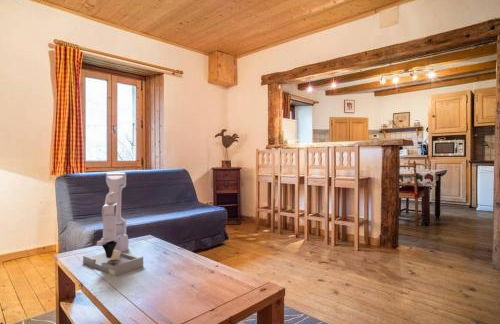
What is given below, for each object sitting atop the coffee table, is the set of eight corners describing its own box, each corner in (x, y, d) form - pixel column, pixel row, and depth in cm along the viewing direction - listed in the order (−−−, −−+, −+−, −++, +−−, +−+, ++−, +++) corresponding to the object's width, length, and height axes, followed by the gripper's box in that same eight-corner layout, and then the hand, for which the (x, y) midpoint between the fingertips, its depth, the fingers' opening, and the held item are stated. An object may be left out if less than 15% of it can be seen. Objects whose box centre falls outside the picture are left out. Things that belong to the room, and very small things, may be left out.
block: (113, 258, 143) (115, 249, 144) (118, 259, 142) (121, 251, 143) (106, 258, 140) (108, 249, 141) (112, 259, 138) (114, 251, 139)
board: (110, 255, 154) (110, 246, 154) (143, 266, 138) (143, 256, 138) (83, 263, 142) (83, 253, 142) (115, 276, 127) (115, 265, 127)
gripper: (112, 226, 148) (112, 252, 147) (91, 231, 133) (90, 261, 133) (124, 226, 146) (124, 253, 146) (104, 232, 132) (103, 262, 131)
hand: (109, 257), depth 139 cm, fingers closed, pressing on block
